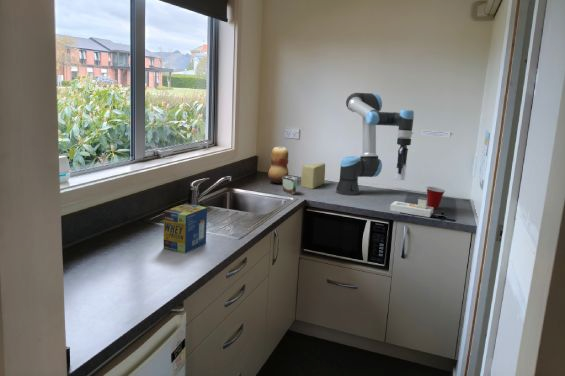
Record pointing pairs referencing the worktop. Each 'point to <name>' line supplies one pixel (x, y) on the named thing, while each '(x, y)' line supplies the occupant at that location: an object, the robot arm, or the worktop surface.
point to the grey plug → (402, 173)
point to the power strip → (412, 209)
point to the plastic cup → (434, 196)
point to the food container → (289, 184)
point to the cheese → (313, 175)
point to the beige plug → (422, 203)
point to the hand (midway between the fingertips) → (400, 178)
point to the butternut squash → (278, 164)
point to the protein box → (185, 227)
